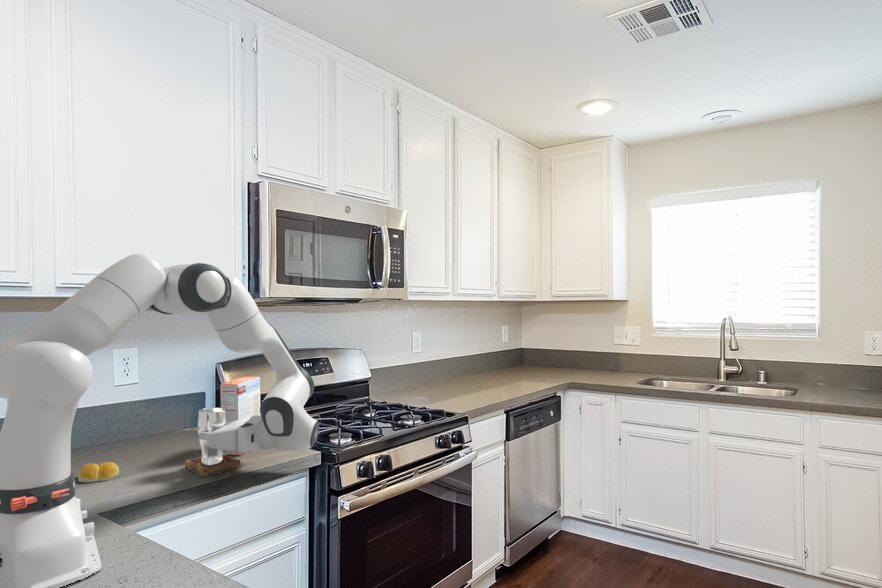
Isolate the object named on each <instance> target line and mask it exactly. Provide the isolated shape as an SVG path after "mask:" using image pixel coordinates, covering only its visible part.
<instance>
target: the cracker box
mask: <svg viewBox="0 0 882 588" xmlns="http://www.w3.org/2000/svg"><path fill="white" fill-rule="evenodd" d="M219 389H220V390H219V391H220V395H219V396H220V398H219V399H220V408H224V409H225V416H226V423H228V422H234V421H236V420H238V419H241V418H243V417H252V416H254V415H261V414H260V406H261V377H260V376H242V377H239V378H235V379H232V380H230V381H227V382H224V383H221V384H220V386H219ZM223 453H224V454H226V455H229V456H241V455H243V453H238V450H234V451H228V450H223Z"/></svg>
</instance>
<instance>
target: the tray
mask: <svg viewBox="0 0 882 588" xmlns="http://www.w3.org/2000/svg"><path fill="white" fill-rule="evenodd" d="M223 459H224V464H220V465H215V466H211V467H207V468H205V467H203V466H200V463H201V456H199V457H195V458H190V459H186V460H184V461H185V462H184V466H185V469H187V470H188V471H191V472H193V473H195V474H197V473H198V474H197V475H199V474H200V475H199V476H201V475H202V476H201V477H203V476H206V477H208V476H207V475H210V476H212V475H211V474H214V475H216V474H215V473H218V474H220V473H219V472H222V473H225V472H224V471H226V472H229V471H228V470H230V471H233V470H232V469H234V470H238V469H241V467H242V466H241V465H242V463H241V460H240V459H238V458H236V457H233V456H232V455H226V454H224V453H223ZM237 468H238V469H237Z"/></svg>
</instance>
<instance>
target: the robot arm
mask: <svg viewBox="0 0 882 588" xmlns="http://www.w3.org/2000/svg"><path fill="white" fill-rule="evenodd" d="M148 308H150V309H151V310H152V311H155V312H157V313H159V314H164V315H193V314H198V313H204V314H205V315H206V316H207V317H208V319H209V321H210V323H211V325H212V328H213V329H214V331H215V333H216V335H217V336H218V338H219V340H220V342H221V343H222V344H223V346H225V348H226V349H227V350H229V351H232V352H234V353H240V354H243V353H245V354H246V353H251V352H254V351H259V352H261V353H262V354H263V356H264V357H265V358H266V360H267V361H268V363H269V365H270V366H271V368H272V369H273V371H274V373H275V375H276V376H275V377H276V378H275V382H274V384H273V386H272V387H271V388H270V390H269V391H268V392H267V394H266V395H265V397H264V398H263V400H262V401H261V403H260V415H254V416H252V417H243V418H241V419H238V420H236V421H234V422H228V423H226V426H224V427H222V428H219V429H217V430H215V431H213V432H211V433H209V432H208V431H203V432H200V433H199V435H198V440H199V439H201V440H207V446H208V447H209V448H211V449H217V450H228V451H234V450H238V453H242V454H245V453H249V452H253V451H261V450H262V451H270V450H275V449H277V450H280V451H284V452H287V451H289V452H296V451H297V452H299V451H300V452H301V451H305V450H310V449H312V447H314V445H315V443H316V441H317V439H318V436H319V433H320V423H319V421H318V420H317V419H314V418H313V417H311V416H310V415H309V413H307V411H306V410H305V408H304V406H305V405H306V403H307V402H308V400H309V399H310V398H311V397H312V395H313V394H314V391H315V383H314V380H313V378H312V376H311V375H310V373H309V372H307V370H306V369H304V367H302V366H301V365H300V363H299V362H298V360H297V359H296V358H295V357H294V355H293V353H292V352H291V350H290V348H289V347H288V345H287V343H286V342H285V341H284V339H283V338H282V336H281V335H280V333H279V332H278V330H277V329H276V328H275V327H274V325H272V324H270V323H269V322H267V321H266V319H265V318H264V316H263V314H262V313H261V311H260V310H259V307H258V305H257V303H256V301H255V300H254V299H253V297H252V294H250V292H249V291H248V289H247V288H246V286H245V285H244V284H243V283H242V280H240V279H239V278H238V277H237V276H234V275H233V274H232V275H231V274H229V275H228V274H225V273H224V272H223V271H222V270H220V269H219V268H218V267H216V266H214V265H212V264H209V263H202V262H198V263H197V262H195V263H191V264H189V263H188V264H175V265H172V266H167V267H163V266H162V264H160V263H159V262H158V261H157V260H156V259H154V257H151V256H149V255H146V254H143V253H134V254H130V255H128V256H126V257H124V258H122V259H121V260H119V261H118V260H117V262H114V263H113V264H112V265H110V266H109V267H107V268H106V269H104V270H103V271H102V272H100V273H99V274H97V275H96V276H95V277H93V278H92V280H91V279H90V281H89V282H87V283H86V284H85V285H84V286H83V287H81V288H80V289H79V290H78V291H76V292H75V293H73V295H72V296H70V297H69V298H68V299H67V300H65V301H64V302H63V303H61V304H60V305H58V306H57V307H56V308H54V309H53V310H51V311H49V312H48V313H46V314H44V315H42V316H40V317H39V318H37V319H35V320H34V321H33V322H30V323H29V324H28V325H25V326H24V327H23V328H21V329H19V330H18V331H16V332H14V333H13V334H12V335H10V336H9V337H6V338H5V339H4V340H1V341H0V398H2V399H6V400H7V404H6V405H7V406H6V411H5V416H4V421H3V423H2V427H1V430H0V588H58V587H61V586H64V585H67V584H69V583H72V582H74V581H77V580H80V579H83V578H85V577H88V576H89V575H91V574H93V573H95V572H97V571H99V570H100V569H101V568H103V567H102V562H101V557H100V553H99V551H98V546H97V543H96V538H95V536H94V535H95V531H96V530H95V522H93V521H90V522H87V523H84V521H83V520H84V519H87V518H88V510H87V509H86V510H82V509H81V499H79V498H78V497H76V496H75V495H76V490H75V487H76V482H75V478H74V473H73V472H72V471H71V470H72V469H71V468H72V467H71V466H72V465H71V461H72V459H71V458H72V456H71V455H72V454H71V453H72V447H71V444H72V441H71V440H72V431H73V424H74V420H75V415H76V412H77V409H78V405H79V402H80V399H81V398H82V396H83V395H84V394H85V393H86V392H87V391H88V389H89V388H90V386H91V383H92V381H93V376H94V372H93V369H94V368H93V366H92V363H91V361H90V359H89V358H88V356H89V355H91V354H93V353H95V352H97V351H100V350H102V349H104V348H105V347H107V346H109V345H110V344H112V343H113V342H114V341H115V340H116V339H117V338H118V337H119V336H120V335H121V334H122V333H123V332H125V331H126V329H128V328H129V327H130V326H131V325H132V324H133V323H134V322H135V321H136V320H137V319H138V318H139V317H140V316H142V315H143V314H144V313H145V312H146V311H147V309H148ZM101 570H102V569H101ZM101 570H100V571H101ZM100 571H99V572H100ZM97 573H98V572H97ZM95 574H96V573H95ZM88 578H89V577H88ZM83 580H84V579H83Z"/></svg>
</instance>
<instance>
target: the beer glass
mask: <svg viewBox="0 0 882 588" xmlns="http://www.w3.org/2000/svg"><path fill="white" fill-rule="evenodd" d="M197 420H198V421H197V433H198V436H199V433H200V432H203V431H208V432H209V433H211V432H213V431H215V430H217V429H219V428H222V427H224V426H226V416H225V409H224V408H221V407H209V408H208V407H206V408H202V409H199V410H198V419H197ZM198 440H199V445H200V451H201V456H200V457H201V463H200V466H203V467H205V468H207V467H211V466H215V465H220V464H224V459H223V450H217V449H211V448H209V447H208V446H207V440H201V439H199V438H198Z"/></svg>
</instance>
